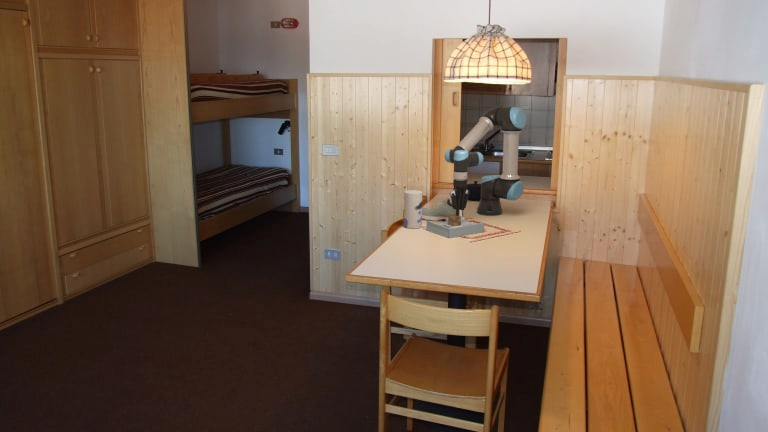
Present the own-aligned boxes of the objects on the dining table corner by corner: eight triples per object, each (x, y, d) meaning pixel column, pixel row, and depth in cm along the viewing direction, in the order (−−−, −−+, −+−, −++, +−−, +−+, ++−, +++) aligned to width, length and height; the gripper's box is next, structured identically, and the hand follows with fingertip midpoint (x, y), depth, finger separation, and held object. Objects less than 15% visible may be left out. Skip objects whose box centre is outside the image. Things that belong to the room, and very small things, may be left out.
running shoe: (421, 215, 396) (422, 193, 393) (468, 221, 383) (469, 198, 380) (413, 219, 386) (414, 196, 383) (461, 225, 373) (462, 202, 370)
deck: (460, 224, 375) (460, 215, 374) (483, 231, 359) (484, 223, 358) (426, 229, 362) (426, 221, 361) (449, 238, 346) (449, 229, 345)
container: (420, 229, 364) (421, 193, 359) (402, 228, 366) (402, 192, 361) (422, 224, 373) (423, 190, 369) (405, 223, 375) (406, 189, 370)
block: (455, 223, 365) (455, 214, 364) (460, 225, 361) (461, 216, 360) (447, 224, 362) (448, 215, 361) (453, 226, 358) (454, 217, 357)
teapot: (454, 200, 438) (455, 181, 435) (461, 195, 452) (462, 177, 449) (491, 203, 429) (492, 184, 426) (497, 198, 443) (498, 180, 440)
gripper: (455, 181, 351) (454, 224, 356) (473, 179, 358) (472, 221, 363) (446, 179, 357) (445, 221, 362) (464, 176, 364) (463, 218, 369)
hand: (459, 221), depth 363 cm, fingers closed
